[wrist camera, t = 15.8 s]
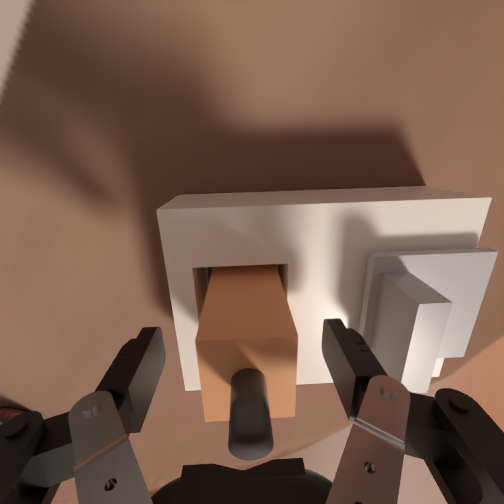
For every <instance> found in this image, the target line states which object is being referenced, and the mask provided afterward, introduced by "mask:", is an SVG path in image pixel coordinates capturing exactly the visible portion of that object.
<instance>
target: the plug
mask: <svg viewBox="0 0 504 504" xmlns="http://www.w3.org/2000/svg"><path fill="white" fill-rule="evenodd" d="M195 345H196V353H197V361H198V369H199V377H200V385H201V392H202V400H203V408H204V416H205V422H211V421H228V420H229V440H228V448H229V451H230V453H231V454H232V455H233V456H235V457H237V458H239V459H242V460H257V459H260V458H263V457H265V456H266V455H268V454H269V453H270V452H271V450H272V449H273V435H272V427H271V418H281V417H295V398H296V377H297V355H298V333H297V330H296V327H295V324H294V321H293V317H292V314H291V311H290V308H289V305H288V302H287V299H286V295H285V292H284V289H283V286H282V283H281V280H280V276H279V273H278V270H277V267H276V264H266V265H243V266H220V267H213V269H212V273H211V277H210V281H209V285H208V290H207V294H206V298H205V302H204V306H203V310H202V314H201V318H200V322H199V327H198V331H197V335H196V339H195Z"/></svg>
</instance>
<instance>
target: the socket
mask: <svg viewBox="0 0 504 504" xmlns="http://www.w3.org/2000/svg"><path fill="white" fill-rule="evenodd" d="M491 199H492V197H488V196H482V195H476V194H470V193H465V192H459V191H453V190H447V189H442V188H436V187H430V186H408V187H380V188H352V189H324V190H296V191H268V192H240V193H212V194H183V195H178V196H176V197H175V198H173V199H172V200H170V201H169V202H167V203H166V204H164V205H163V206H161V207H160V208H158V209H157V210H156V211H157V217H158V224H159V230H160V236H161V242H162V248H163V254H164V261H165V267H166V273H167V279H168V285H169V291H170V298H171V304H172V310H173V316H174V322H175V328H176V335H177V341H178V347H179V353H180V359H181V366H182V372H183V378H184V384H185V390H186V391H191V390H201V385H200V377H199V369H198V361H197V353H196V345H195V339H196V335H197V331H198V327H199V322H200V318H201V314H202V310H203V306H204V302H205V298H206V294H207V290H208V285H209V281H210V277H211V273H212V269H213V267H220V266H243V265H266V264H276V267H277V270H278V273H279V276H280V280H281V283H282V286H283V289H284V292H285V295H286V299H287V302H288V305H289V308H290V311H291V314H292V317H293V321H294V324H295V327H296V330H297V333H298V355H297V377H296V385H297V384H315V383H332V382H333V380H332V377H331V375H330V372H329V370H328V367H327V365H326V362H325V360H324V357H323V354H322V332H323V321H324V319H334V318H340V319H341V320H342V322H343V323H344V325H345V327H346V328H353V329H354V330H355V331H357V332H358V330H359V322H360V315H361V308H362V301H363V294H364V287H365V280H366V273H367V266H368V259H369V253H373V252H396V251H419V250H443V249H466V248H477V246H478V242H479V239H480V236H481V232H482V229H483V226H484V222H485V219H486V215H487V212H488V209H489V205H490V202H491ZM443 360H444V358H437V360H436V363H435V367H434V370H433V374H432V377H439V374H440V370H441V367H442V364H443Z"/></svg>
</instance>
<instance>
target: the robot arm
mask: <svg viewBox="0 0 504 504" xmlns="http://www.w3.org/2000/svg"><path fill="white" fill-rule="evenodd" d="M322 354H323V357H324V360H325V362H326V365H327V367H328V370H329V372H330V375H331V377H332V380H333V382H334V385H335V387H336V389H337V392H338V394H339V397H340V399H341V402H342V404H343V407H344V409H345V412H346V414H347V417H348V419H349V421H353V420H354V422H353V425H352V428H351V431H350V434H349V437H348V440H347V442H346V445H345V448H344V451H343V454H342V457H341V460H340V463H339V466H338V469H337V472H336V475H335V478H334V481H333V483H332V482H331V481H330V480H328V479H327V478H325V477H324V476H322V475H320V474H318V473H316V472H313V471H311V470H307V469H305V468H304V463H303V458H292V459H276V460H271V461H269V462H266V463H263V464H261V465H258V466H255V467H253V468H250V469H247V470H237V469H233V468H229V467H225V466H221V465H216V464H199V465H183V469H182V474H181V477H180V478H177V479H175V480H173V481H171V482H169V483H168V484H166V485H165V486H163V487H162V488H161V489H159V490H158V491H157V492H156V493H155V494H154V495H153V496H152V497H150V494H149V491H148V489H147V486H146V483H145V481H144V478H143V475H142V473H141V470H140V467H139V465H138V462H137V459H136V457H135V454H134V451H133V449H132V446H131V443H130V441H129V438H128V437H129V434H130V433H139V432H140V431H141V428H142V425H143V423H144V420H145V417H146V414H147V412H148V409H149V406H150V403H151V400H152V398H153V395H154V392H155V389H156V387H157V384H158V381H159V378H160V375H161V373H162V370H163V367H164V364H165V348H164V343H163V337H162V332H161V328H160V327H144V328H142V330H141V331H140V333H139V335H138V337H137V339H131V340H129V341H128V342H127V343H126V344H125V345H124V346H122V348H121V349H120V351H119V353H118V354H117V357H116V358H115V359H114V361H113V362H112V365H111V366H110V367H109V369H108V371H107V372H106V374H105V375H104V377H103V379H102V380H101V382H100V384H99V385H98V387H97V389H96V390H95V392H93V393H90V394H88V395H86V396H84V397H83V398H81V399H80V400H79V401H78V402H77V403H76V404H75V405H74V406H73V407H72V409H71V410H70V411H69V412H67V413H64V414H60V415H57V416H54V417H51V418H48V419H45V420H44V419H43V417H42V415H41V413H39V412H37V411H29V412H25V413H22V414H19V415H17V416H15V417H13V418H11V419H10V420H8V421H7V422H5V423H4V424H3V425H2V426H0V504H51V502H52V500H53V498H54V496H55V494H56V492H57V489H58V487H59V485H60V483H61V482H63V481H65V480H68V479H70V478H73V477H75V483H76V489H77V495H78V502H79V504H397V500H398V494H399V487H400V479H401V472H402V465H403V458H404V454H406V455H410V456H413V457H417V458H421V459H424V461H425V462H426V465H427V466H428V468H429V470H430V472H431V474H432V476H433V477H434V479H435V481H436V483H437V485H438V486H439V488H440V490H441V492H442V494H443V496H444V498H445V500H446V501H447V503H448V504H504V432H503V431H502V430H501V429H500V428H499V427H498V426H497V424H496V423H495V422H494V421H493V420H492V419H491V418H490V416H489V415H488V414H487V413H486V412H485V411H484V410H483V408H482V407H481V406H480V405H479V404H478V403H477V402H476V401H475V400H473V399H472V398H471V397H469V396H468V395H466V394H464V393H462V392H460V391H457V390H454V389H449V388H443V389H439V390H438V391H437V392H436V394H435V397H430V396H426V395H421V394H416V393H412V392H409V391H408V389H407V388H406V387H405V386H404V385H403V384H402V383H401V382H399V381H398V380H396V379H394V378H392V377H389V376H388V375H387V373H386V372H385V370H384V369H383V367H382V366H381V364H380V363H379V361H378V360H377V358H376V357H375V355H374V354H373V352H372V351H371V349H370V348H369V346H368V345H367V344H366V342H365V340H364V339H363V337H362V336H361V334H359V333H358V332H357V331H355V330H354V329H353V328H346V327H345V325H344V323H343V322H342V320H341V319H340V318H334V319H324V321H323V332H322Z"/></svg>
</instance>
